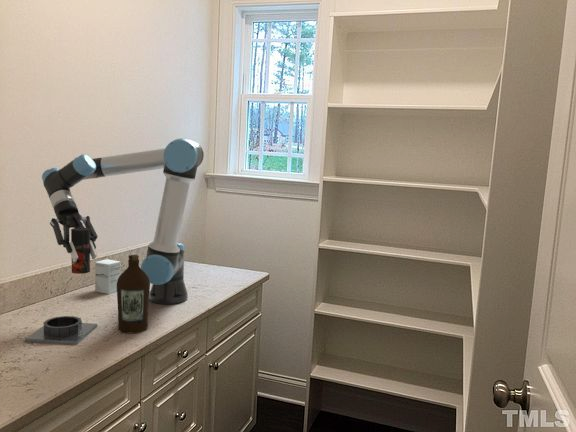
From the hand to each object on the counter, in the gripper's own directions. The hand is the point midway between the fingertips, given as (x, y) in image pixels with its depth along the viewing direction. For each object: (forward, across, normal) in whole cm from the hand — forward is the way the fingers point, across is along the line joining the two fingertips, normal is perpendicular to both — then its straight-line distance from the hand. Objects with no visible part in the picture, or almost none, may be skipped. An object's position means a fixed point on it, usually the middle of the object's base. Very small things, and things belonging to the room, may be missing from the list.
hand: (85, 258), depth 174 cm
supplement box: (-4, -22, -35) cm, 42 cm away
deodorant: (+1, 0, -6) cm, 7 cm away
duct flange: (+21, +11, -10) cm, 26 cm away
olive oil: (+28, -8, -4) cm, 29 cm away
